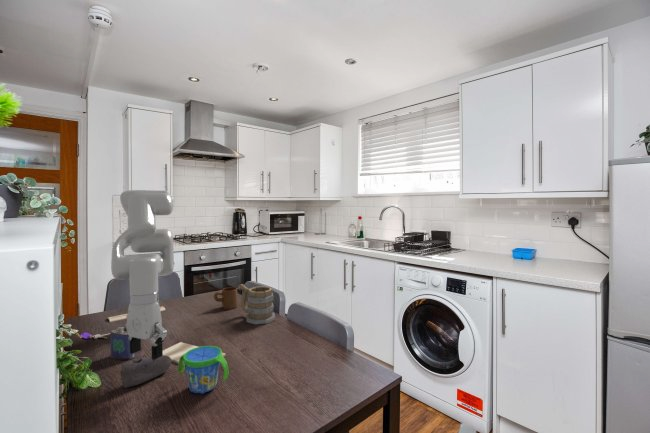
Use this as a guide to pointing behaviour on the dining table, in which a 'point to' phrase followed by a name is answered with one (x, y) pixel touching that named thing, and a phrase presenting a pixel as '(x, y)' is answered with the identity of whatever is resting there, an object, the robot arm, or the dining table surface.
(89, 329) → the dining table surface
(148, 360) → the perforated stone tool
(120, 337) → the flask
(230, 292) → the mug
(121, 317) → the newspaper
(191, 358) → the snack cup
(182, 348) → the birch board
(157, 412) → the dining table surface
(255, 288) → the tankard
